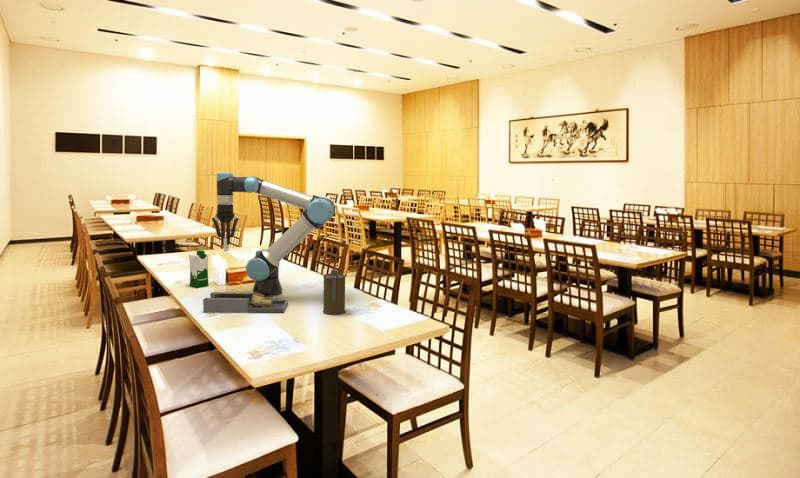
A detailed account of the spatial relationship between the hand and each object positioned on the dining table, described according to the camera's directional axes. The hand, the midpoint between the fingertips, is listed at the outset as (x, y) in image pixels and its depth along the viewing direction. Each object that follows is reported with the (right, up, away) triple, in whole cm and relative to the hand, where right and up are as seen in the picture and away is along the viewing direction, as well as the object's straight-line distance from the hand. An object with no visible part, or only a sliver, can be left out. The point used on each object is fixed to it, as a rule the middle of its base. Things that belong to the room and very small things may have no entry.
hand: (226, 251), depth 250 cm
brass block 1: (+19, -25, -13) cm, 34 cm away
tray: (+25, -27, -13) cm, 39 cm away
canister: (+56, -28, -15) cm, 64 cm away
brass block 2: (+22, -24, -13) cm, 35 cm away
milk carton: (-25, -20, +28) cm, 43 cm away
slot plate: (+7, -27, -14) cm, 31 cm away
